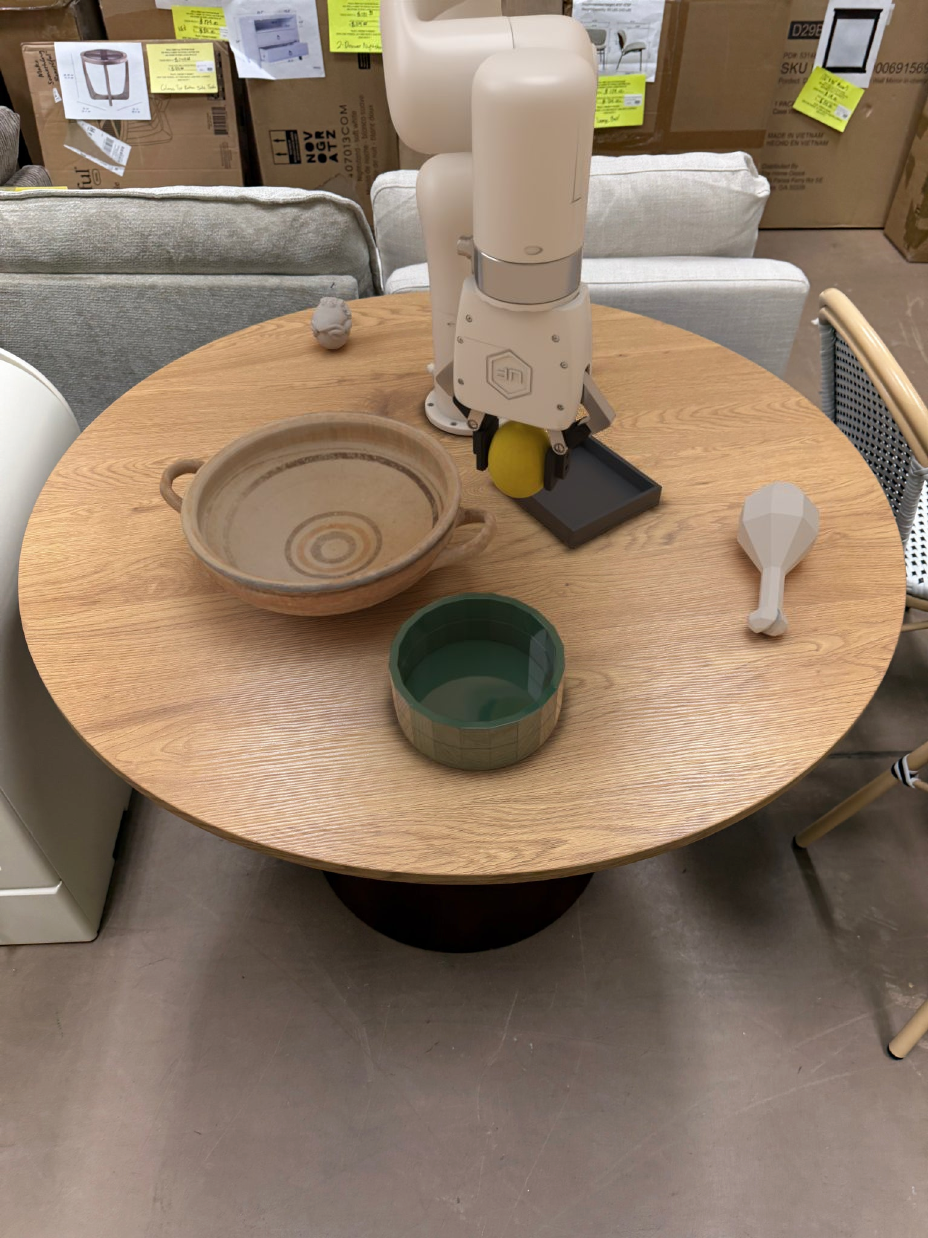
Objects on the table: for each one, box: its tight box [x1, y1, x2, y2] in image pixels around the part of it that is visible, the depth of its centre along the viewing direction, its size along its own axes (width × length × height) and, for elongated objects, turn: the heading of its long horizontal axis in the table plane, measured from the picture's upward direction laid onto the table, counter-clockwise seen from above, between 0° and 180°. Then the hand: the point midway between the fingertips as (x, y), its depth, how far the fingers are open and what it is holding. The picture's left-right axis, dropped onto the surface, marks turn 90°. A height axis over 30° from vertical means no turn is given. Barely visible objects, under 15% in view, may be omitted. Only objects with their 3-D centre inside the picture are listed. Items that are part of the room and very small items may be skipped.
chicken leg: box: [736, 480, 820, 637], centre depth 84 cm, size 8×18×8 cm, turn 165°
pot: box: [388, 592, 566, 771], centre depth 75 cm, size 16×16×6 cm
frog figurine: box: [310, 296, 353, 350], centre depth 119 cm, size 6×7×7 cm
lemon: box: [488, 420, 551, 498], centre depth 69 cm, size 6×6×8 cm
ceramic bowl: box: [159, 410, 498, 617], centre depth 87 cm, size 37×29×10 cm
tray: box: [512, 435, 663, 550], centre depth 96 cm, size 14×13×3 cm
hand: (520, 469), depth 70 cm, fingers closed on lemon, 5 cm apart
